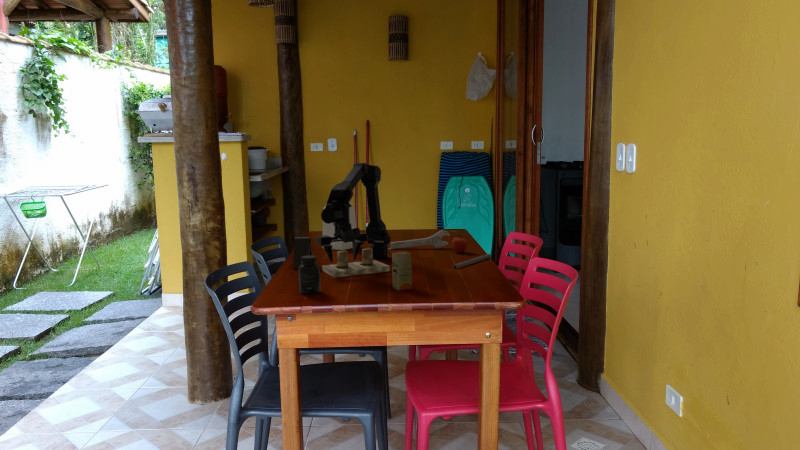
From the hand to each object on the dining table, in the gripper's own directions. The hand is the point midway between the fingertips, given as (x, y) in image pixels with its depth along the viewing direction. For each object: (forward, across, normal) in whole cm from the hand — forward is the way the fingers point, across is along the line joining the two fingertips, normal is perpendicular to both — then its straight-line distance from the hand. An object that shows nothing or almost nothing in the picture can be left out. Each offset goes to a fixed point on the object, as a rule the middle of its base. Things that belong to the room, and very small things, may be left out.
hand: (343, 261), depth 235 cm
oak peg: (+4, 0, 0) cm, 4 cm away
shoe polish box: (+4, +8, -34) cm, 35 cm away
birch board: (+4, +5, 0) cm, 7 cm away
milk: (+5, +19, +54) cm, 57 cm away
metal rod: (+5, +52, -9) cm, 53 cm away
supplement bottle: (+4, -21, -24) cm, 32 cm away
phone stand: (+5, -10, +18) cm, 21 cm away
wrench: (+5, +49, +32) cm, 58 cm away
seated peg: (+4, +10, 0) cm, 11 cm away
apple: (+4, +59, +13) cm, 61 cm away
